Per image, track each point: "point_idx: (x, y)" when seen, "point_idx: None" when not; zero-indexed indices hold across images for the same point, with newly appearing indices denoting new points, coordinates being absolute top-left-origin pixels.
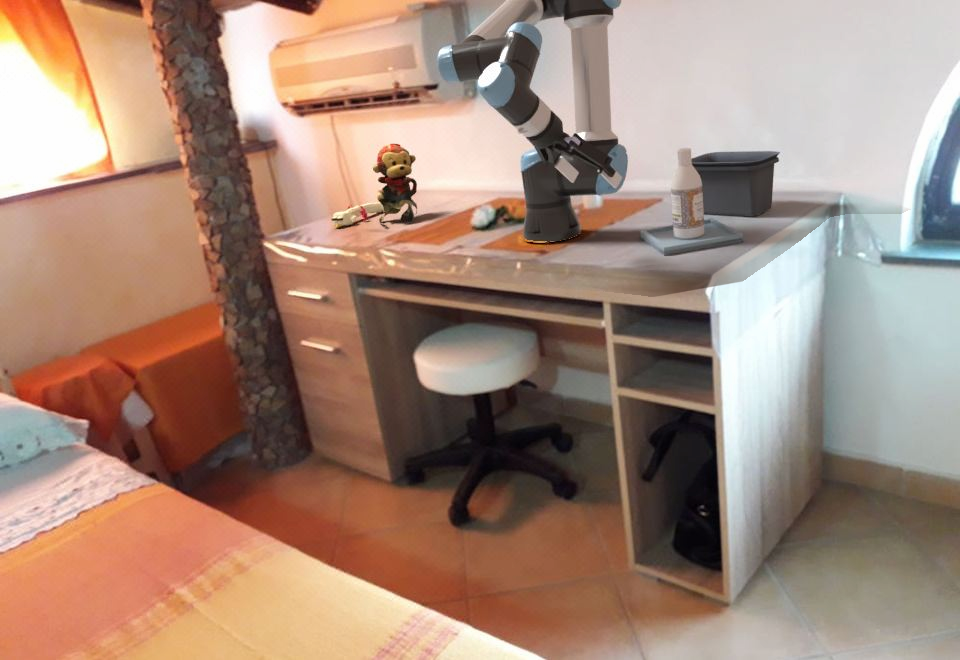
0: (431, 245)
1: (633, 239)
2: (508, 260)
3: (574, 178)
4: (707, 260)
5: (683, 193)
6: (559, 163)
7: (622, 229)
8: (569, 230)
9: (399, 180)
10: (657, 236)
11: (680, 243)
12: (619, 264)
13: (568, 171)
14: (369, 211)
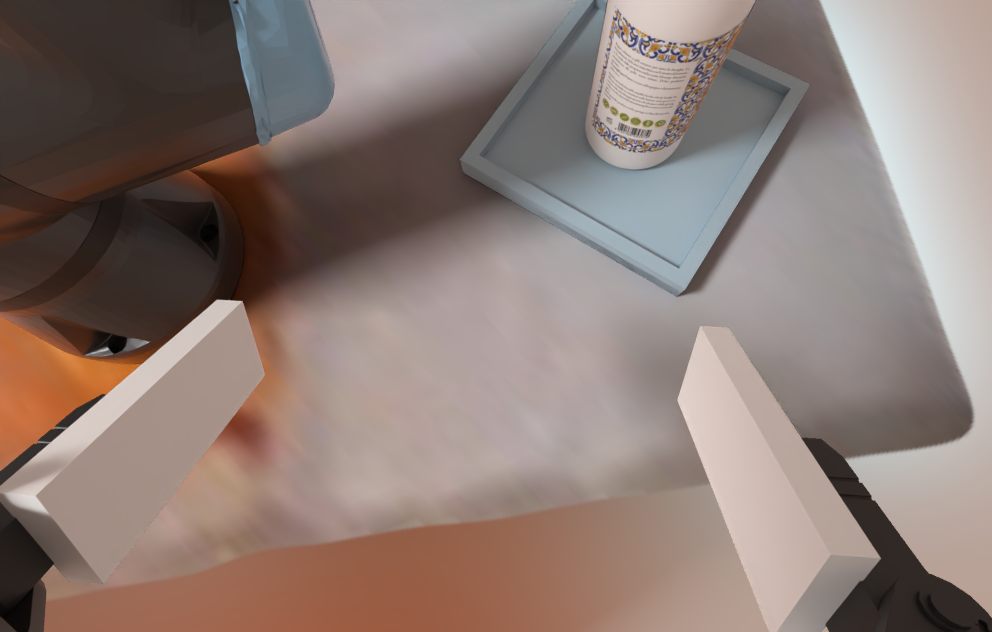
0: None
1: (452, 195)
2: (175, 561)
3: (252, 360)
4: (840, 285)
5: (715, 48)
6: (91, 539)
7: (341, 123)
8: (220, 262)
9: None
10: (539, 171)
11: (668, 205)
12: (607, 432)
13: (198, 412)
14: None
